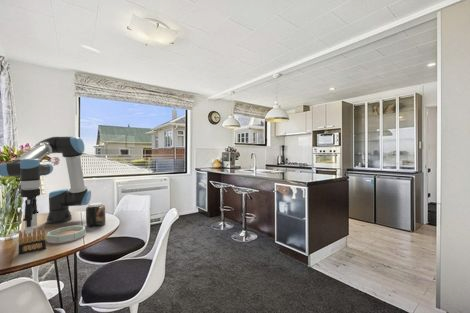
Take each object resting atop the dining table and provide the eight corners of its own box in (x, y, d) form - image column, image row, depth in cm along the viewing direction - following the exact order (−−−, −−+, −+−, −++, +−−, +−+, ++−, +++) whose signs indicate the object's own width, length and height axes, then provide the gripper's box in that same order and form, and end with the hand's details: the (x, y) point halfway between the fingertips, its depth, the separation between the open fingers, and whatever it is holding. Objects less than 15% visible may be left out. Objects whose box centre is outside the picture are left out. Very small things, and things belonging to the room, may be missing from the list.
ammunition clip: (18, 255, 113) (17, 231, 113) (18, 253, 115) (17, 230, 115) (46, 249, 120) (45, 226, 120) (46, 248, 122) (45, 225, 121)
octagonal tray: (48, 235, 139) (48, 229, 139) (85, 229, 150) (85, 223, 150) (44, 246, 124) (44, 239, 124) (86, 238, 135) (86, 231, 135)
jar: (84, 228, 152) (84, 206, 152) (87, 223, 163) (87, 203, 163) (104, 226, 157) (104, 204, 157) (106, 221, 168) (106, 201, 168)
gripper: (25, 186, 125) (26, 225, 125) (15, 192, 104) (16, 238, 105) (43, 185, 129) (43, 222, 129) (36, 190, 109) (37, 234, 109)
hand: (31, 229), depth 117 cm, fingers open, 13 cm apart
